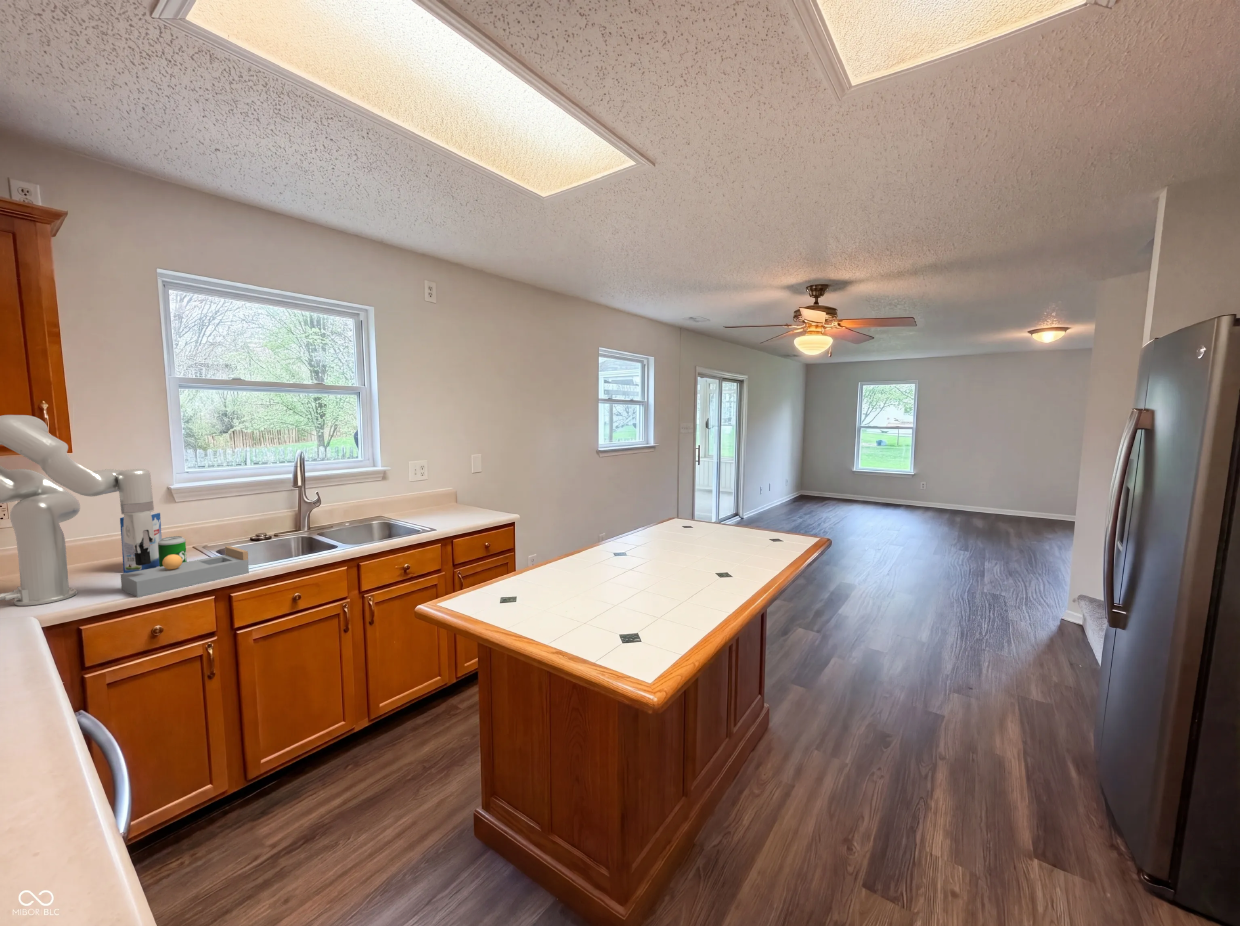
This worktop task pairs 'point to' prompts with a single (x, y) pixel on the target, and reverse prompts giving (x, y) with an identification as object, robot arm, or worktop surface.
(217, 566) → the grey long boxy piece
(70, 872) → the worktop surface
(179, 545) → the soda can
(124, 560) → the milk carton
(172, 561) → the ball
